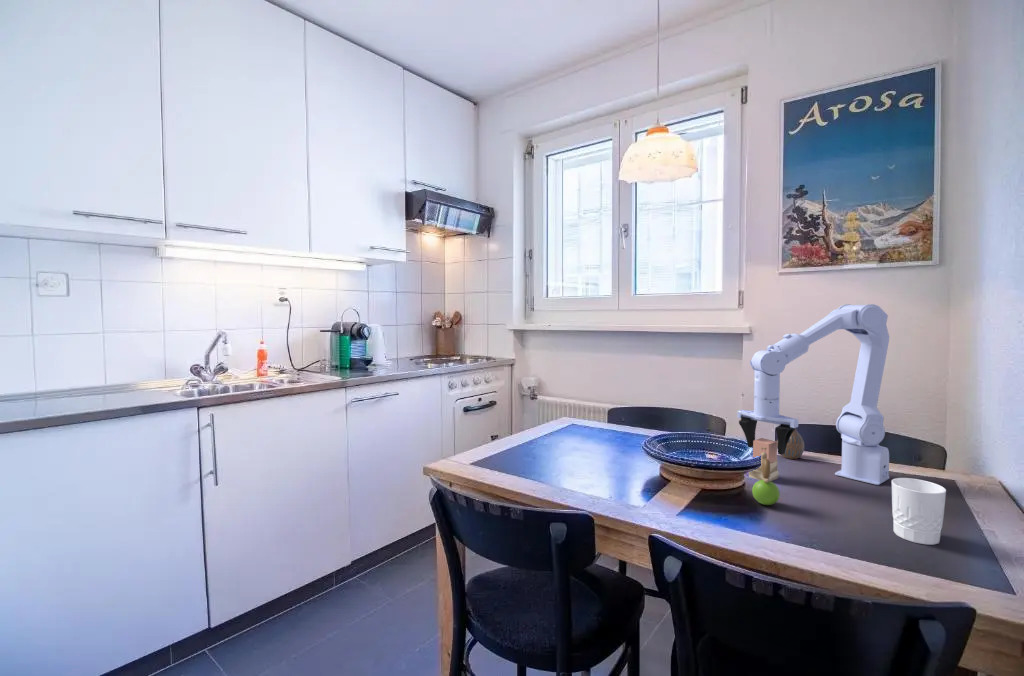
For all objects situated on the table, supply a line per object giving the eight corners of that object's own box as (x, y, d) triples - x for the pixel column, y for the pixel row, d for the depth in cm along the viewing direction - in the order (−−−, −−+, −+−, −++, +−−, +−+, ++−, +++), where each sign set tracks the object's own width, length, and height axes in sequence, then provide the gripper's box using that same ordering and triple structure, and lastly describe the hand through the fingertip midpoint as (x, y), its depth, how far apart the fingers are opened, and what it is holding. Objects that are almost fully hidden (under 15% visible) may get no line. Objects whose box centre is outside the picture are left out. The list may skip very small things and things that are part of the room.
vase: (796, 453, 142) (797, 424, 142) (808, 460, 135) (809, 430, 135) (772, 453, 143) (772, 424, 142) (783, 460, 136) (783, 430, 135)
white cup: (879, 528, 95) (880, 478, 94) (916, 525, 95) (917, 476, 95) (916, 548, 87) (918, 494, 86) (956, 545, 87) (958, 492, 87)
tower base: (778, 479, 123) (778, 470, 122) (768, 484, 120) (768, 474, 120) (759, 474, 127) (759, 465, 127) (748, 478, 124) (748, 468, 124)
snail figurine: (775, 499, 110) (776, 447, 109) (781, 510, 103) (782, 456, 103) (749, 496, 111) (750, 445, 110) (753, 507, 105) (754, 454, 104)
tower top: (777, 469, 123) (777, 460, 123) (769, 474, 119) (769, 464, 119) (757, 465, 126) (757, 455, 126) (749, 469, 123) (749, 460, 123)
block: (776, 460, 122) (777, 441, 122) (768, 463, 120) (768, 444, 120) (761, 456, 125) (761, 438, 125) (752, 459, 123) (753, 440, 123)
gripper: (731, 395, 125) (730, 446, 126) (789, 404, 114) (788, 460, 114) (745, 392, 129) (744, 441, 130) (802, 400, 118) (801, 454, 118)
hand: (765, 450), depth 123 cm, fingers open, 7 cm apart
